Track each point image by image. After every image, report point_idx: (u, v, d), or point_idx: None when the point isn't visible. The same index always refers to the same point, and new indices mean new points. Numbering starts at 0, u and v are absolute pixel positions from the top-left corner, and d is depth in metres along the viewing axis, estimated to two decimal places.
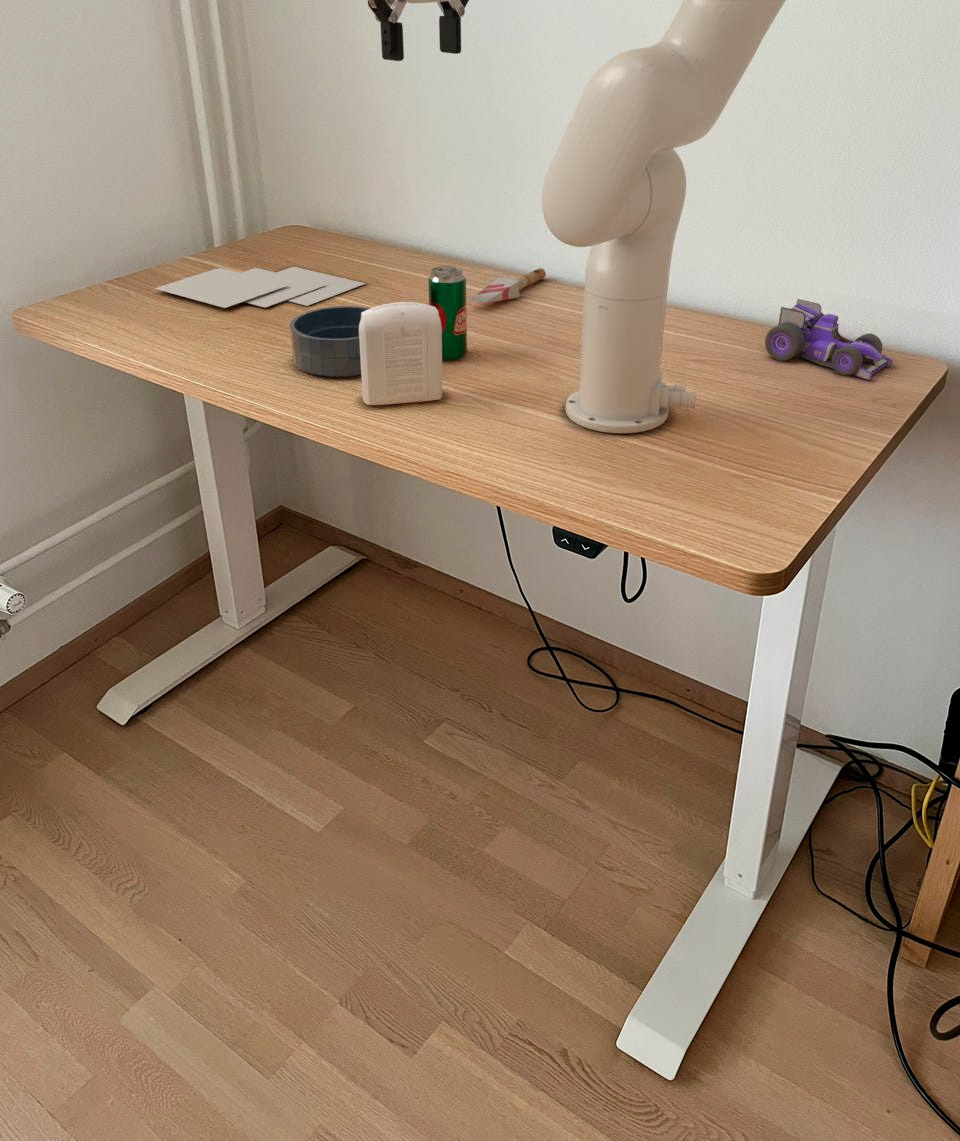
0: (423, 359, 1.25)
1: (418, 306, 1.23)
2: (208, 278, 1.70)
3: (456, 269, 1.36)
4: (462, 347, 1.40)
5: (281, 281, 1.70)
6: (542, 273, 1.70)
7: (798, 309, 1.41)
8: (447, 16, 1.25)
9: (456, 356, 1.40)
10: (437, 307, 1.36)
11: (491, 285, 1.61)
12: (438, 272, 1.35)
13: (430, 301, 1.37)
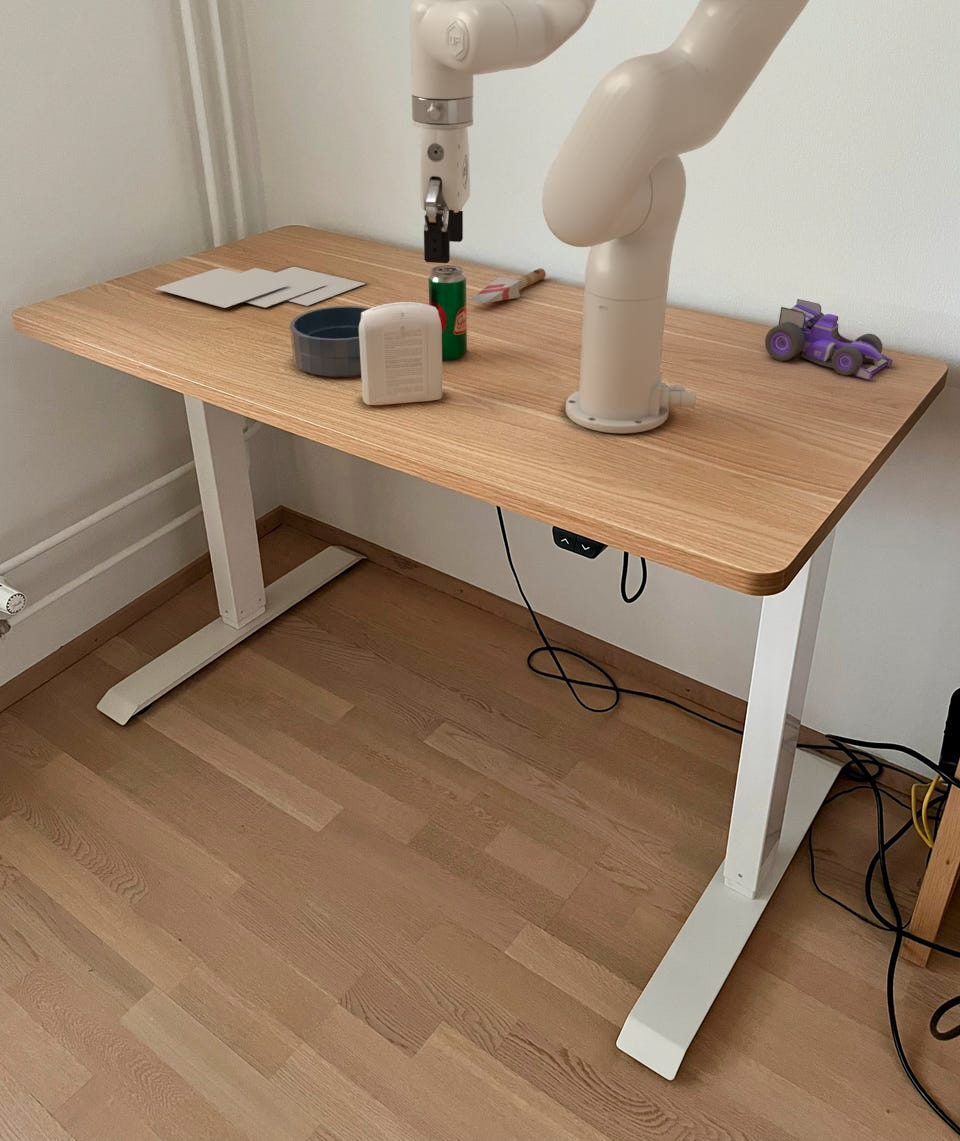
0: (423, 359, 1.25)
1: (418, 306, 1.23)
2: (208, 278, 1.70)
3: (456, 269, 1.36)
4: (462, 347, 1.40)
5: (281, 281, 1.70)
6: (542, 273, 1.70)
7: (798, 309, 1.41)
8: None
9: (456, 356, 1.40)
10: (437, 307, 1.36)
11: (491, 285, 1.61)
12: (438, 272, 1.35)
13: (430, 301, 1.37)
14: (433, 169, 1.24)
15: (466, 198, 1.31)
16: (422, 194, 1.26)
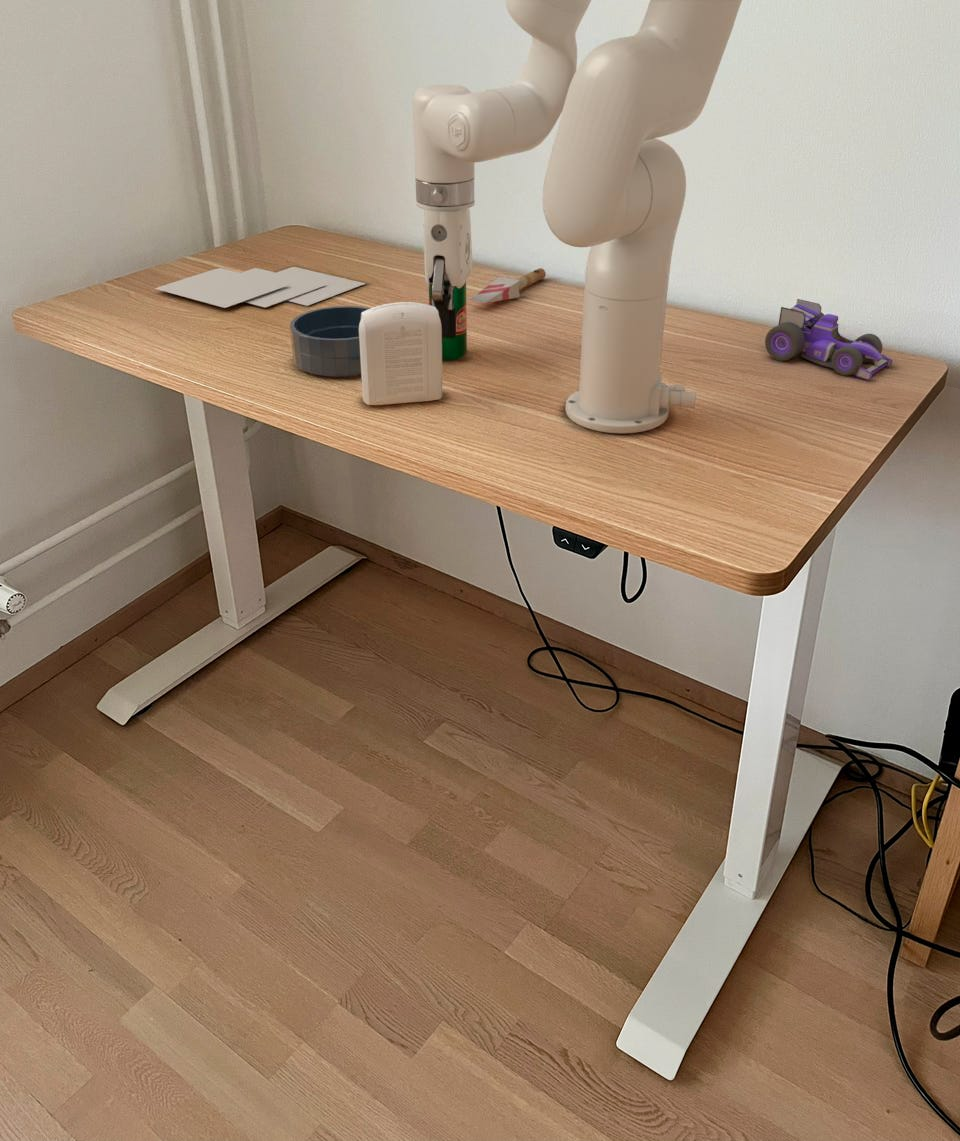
0: (423, 359, 1.25)
1: (418, 306, 1.23)
2: (208, 278, 1.70)
3: None
4: (462, 347, 1.40)
5: (281, 281, 1.70)
6: (542, 273, 1.70)
7: (798, 309, 1.41)
8: None
9: (456, 356, 1.40)
10: None
11: (491, 285, 1.61)
12: None
13: (430, 301, 1.37)
14: (437, 248, 1.29)
15: (469, 272, 1.36)
16: (426, 272, 1.31)
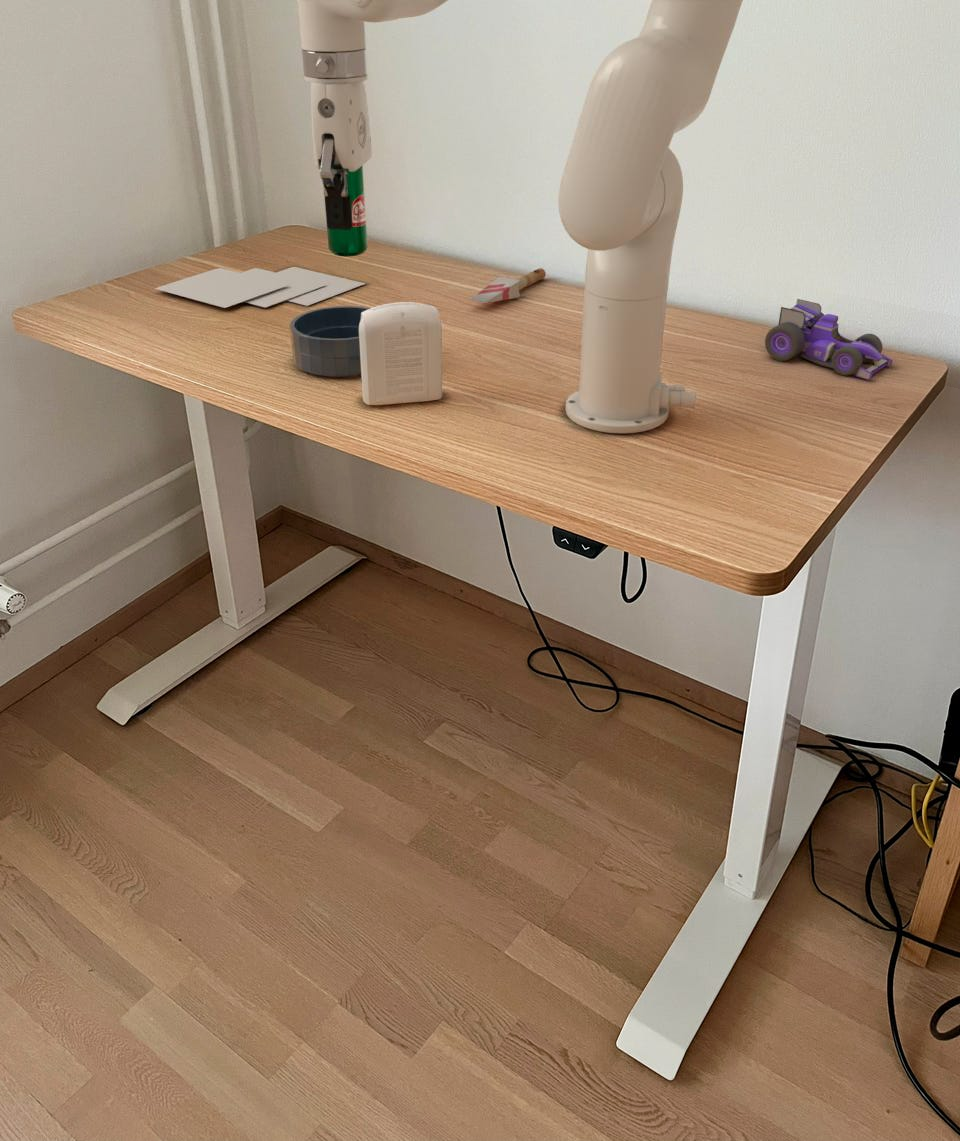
0: (423, 359, 1.25)
1: (418, 306, 1.23)
2: (208, 278, 1.70)
3: None
4: (361, 241, 1.31)
5: (281, 281, 1.70)
6: (542, 273, 1.70)
7: (798, 309, 1.41)
8: None
9: (354, 251, 1.31)
10: None
11: (491, 285, 1.61)
12: None
13: None
14: (325, 126, 1.20)
15: (365, 158, 1.27)
16: (315, 152, 1.22)
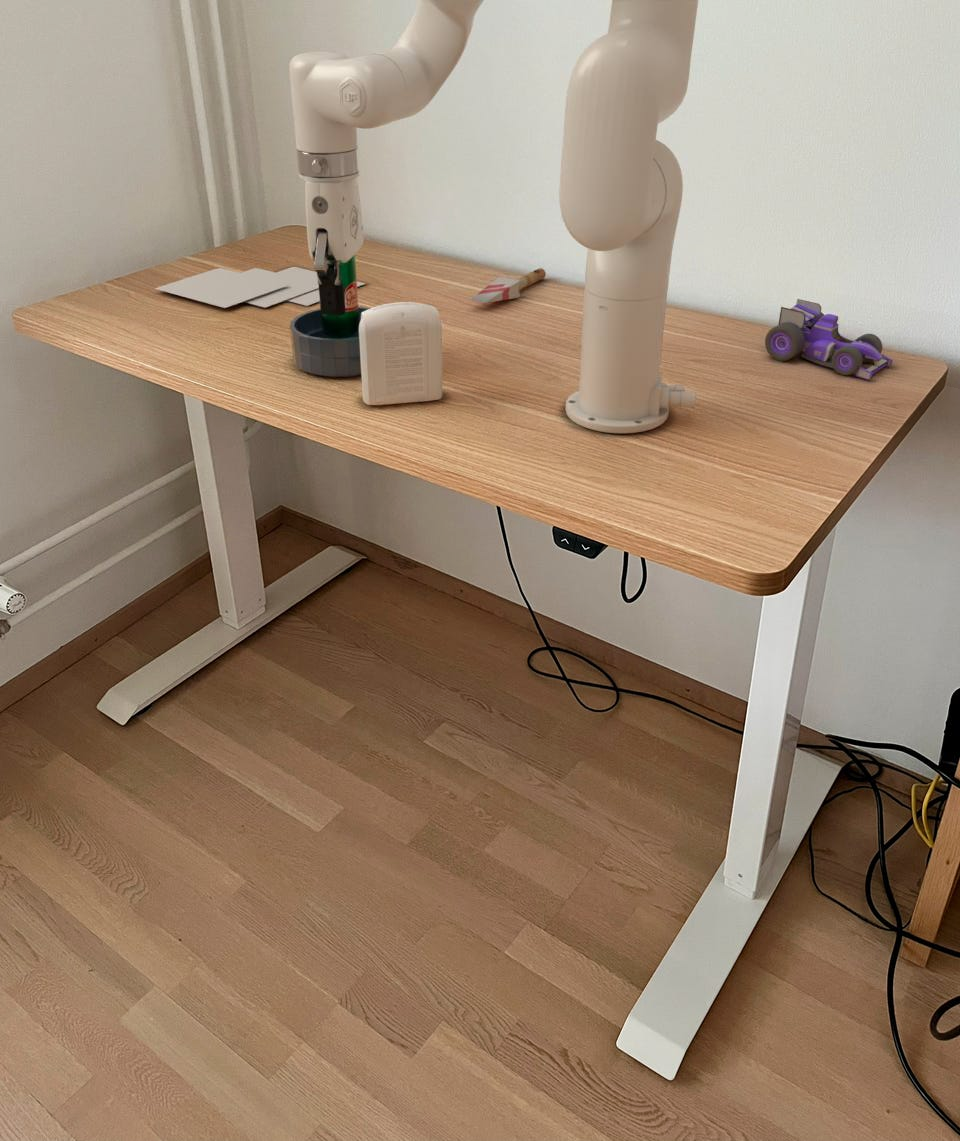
0: (423, 359, 1.25)
1: (418, 306, 1.23)
2: (208, 278, 1.70)
3: None
4: (353, 324, 1.36)
5: (281, 281, 1.70)
6: (542, 273, 1.70)
7: (798, 309, 1.41)
8: None
9: (347, 333, 1.36)
10: None
11: (491, 285, 1.61)
12: None
13: None
14: (318, 221, 1.26)
15: (357, 247, 1.33)
16: (309, 245, 1.28)
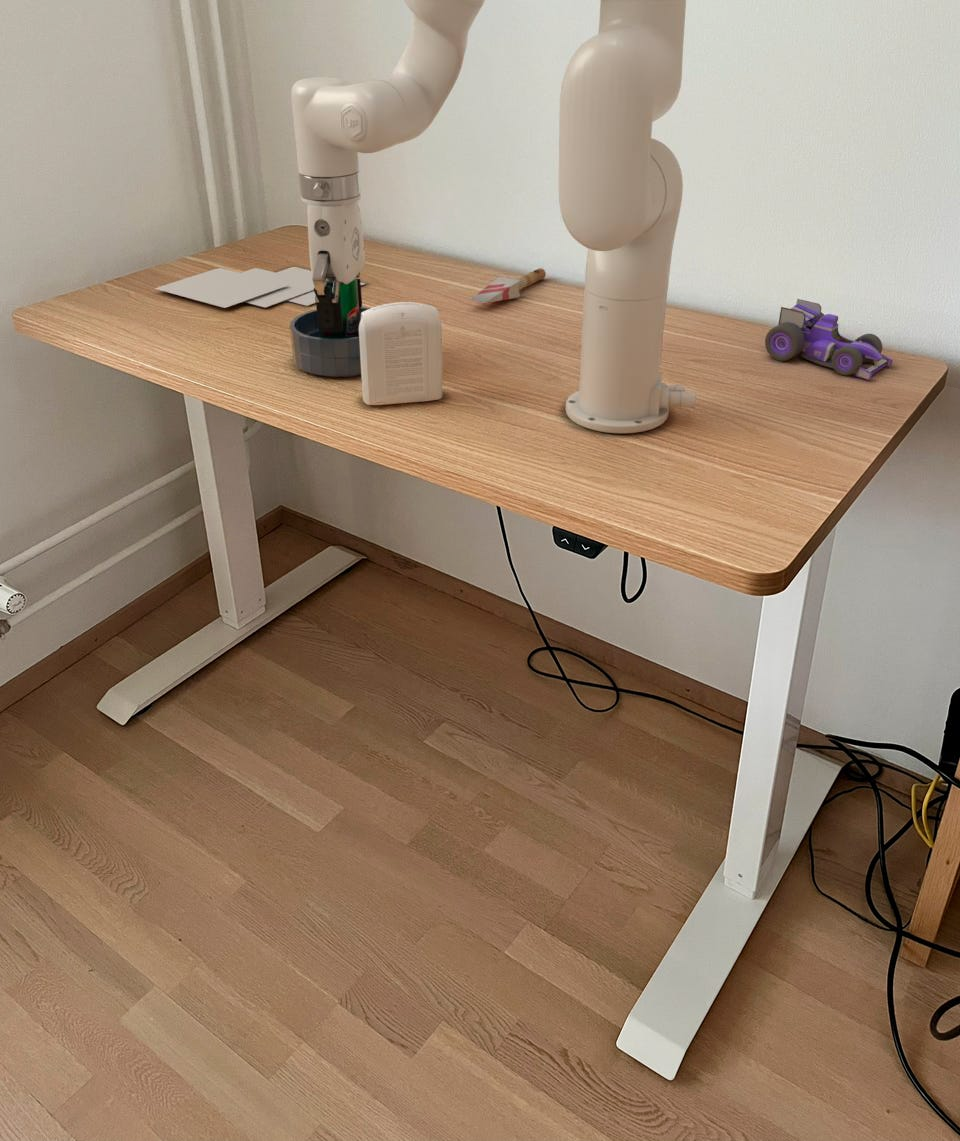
0: (423, 359, 1.25)
1: (418, 306, 1.23)
2: (208, 278, 1.70)
3: None
4: None
5: (281, 281, 1.70)
6: (542, 273, 1.70)
7: (798, 309, 1.41)
8: None
9: None
10: None
11: (491, 285, 1.61)
12: None
13: None
14: (321, 244, 1.27)
15: (359, 268, 1.34)
16: (312, 267, 1.29)
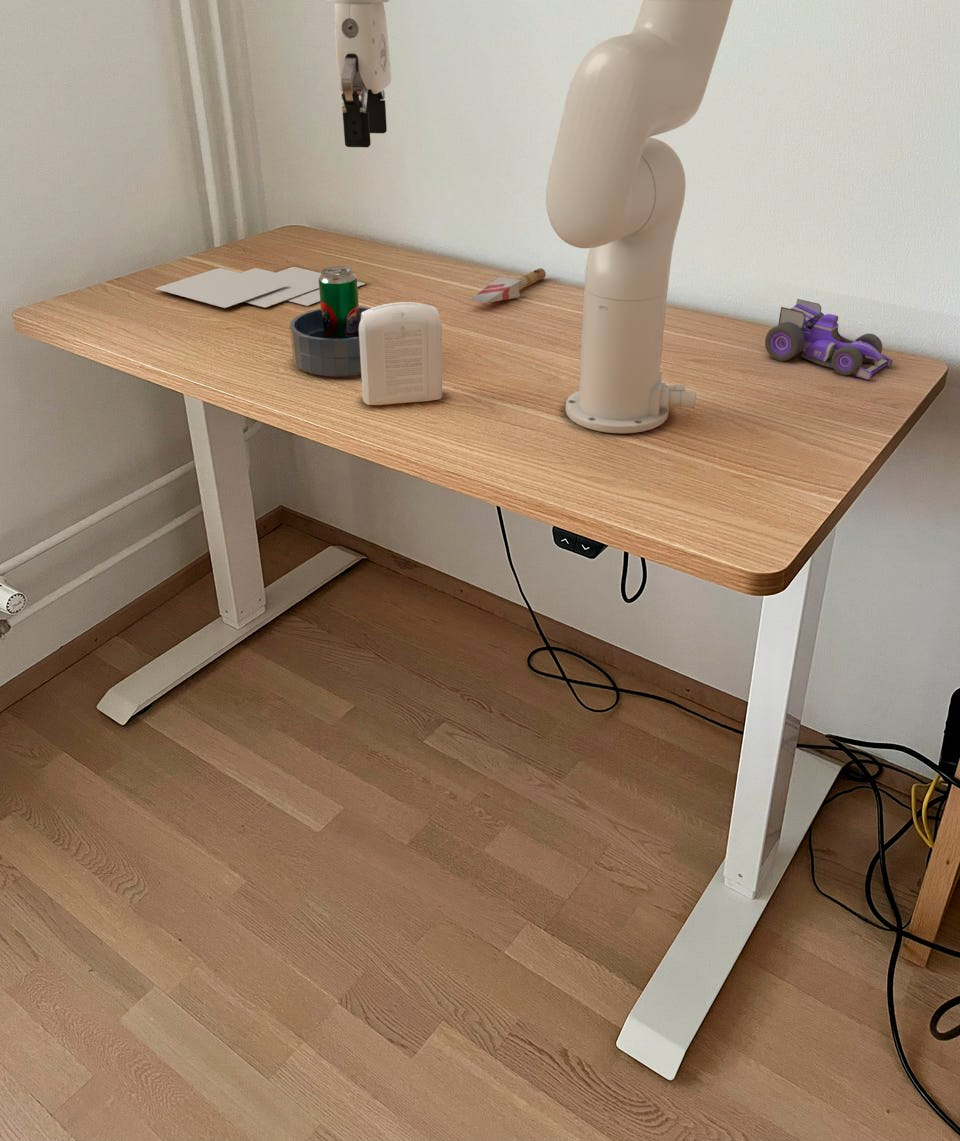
0: (423, 359, 1.25)
1: (418, 306, 1.23)
2: (208, 278, 1.70)
3: (346, 270, 1.35)
4: None
5: (281, 281, 1.70)
6: (542, 273, 1.70)
7: (798, 309, 1.41)
8: (370, 100, 1.34)
9: None
10: (327, 308, 1.35)
11: (491, 285, 1.61)
12: (327, 273, 1.33)
13: (321, 302, 1.35)
14: (348, 46, 1.22)
15: (386, 82, 1.29)
16: (339, 74, 1.24)
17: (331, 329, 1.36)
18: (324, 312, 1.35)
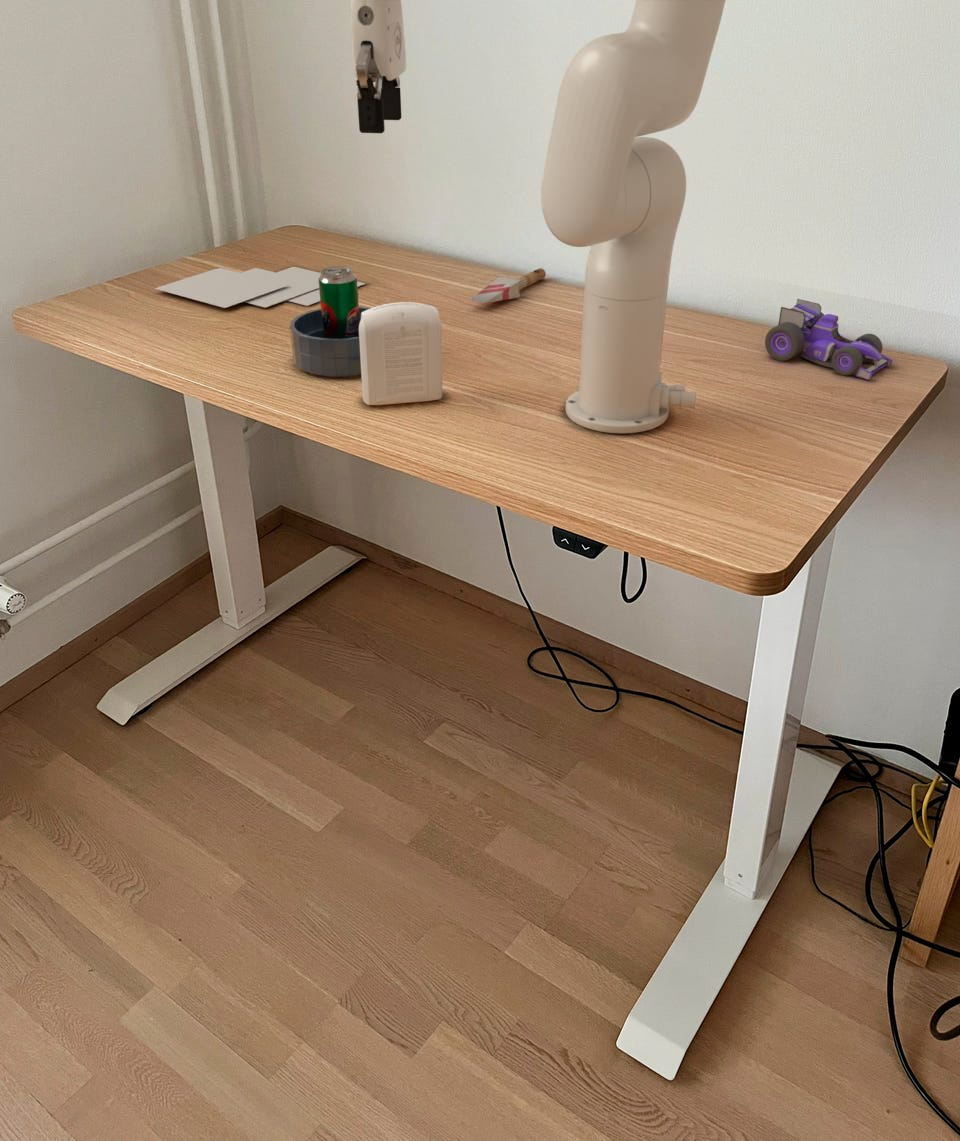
0: (423, 359, 1.25)
1: (418, 306, 1.23)
2: (208, 278, 1.70)
3: (346, 270, 1.35)
4: None
5: (281, 281, 1.70)
6: (542, 273, 1.70)
7: (798, 309, 1.41)
8: (385, 87, 1.37)
9: None
10: (327, 308, 1.35)
11: (491, 285, 1.61)
12: (327, 273, 1.33)
13: (321, 302, 1.35)
14: (364, 33, 1.25)
15: (401, 70, 1.32)
16: (354, 60, 1.26)
17: (331, 329, 1.36)
18: (324, 312, 1.35)
